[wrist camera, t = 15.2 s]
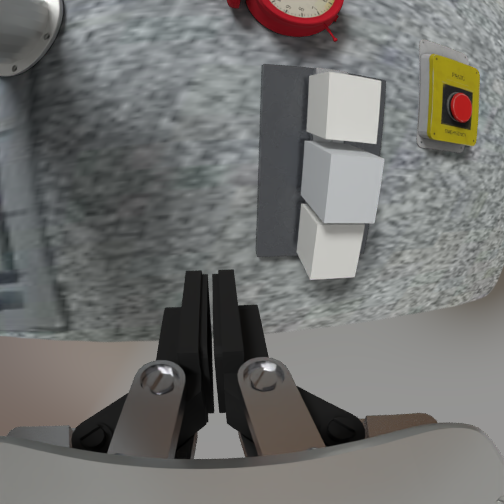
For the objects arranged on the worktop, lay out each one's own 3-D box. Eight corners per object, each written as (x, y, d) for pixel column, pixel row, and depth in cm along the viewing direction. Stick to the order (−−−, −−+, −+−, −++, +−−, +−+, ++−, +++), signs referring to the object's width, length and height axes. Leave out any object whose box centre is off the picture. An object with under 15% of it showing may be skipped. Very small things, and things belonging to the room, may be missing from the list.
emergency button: (433, 153, 31) (436, 34, 24) (413, 146, 35) (416, 37, 28) (480, 160, 32) (486, 55, 25) (461, 152, 36) (465, 55, 29)
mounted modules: (309, 75, 27) (329, 71, 22) (354, 81, 28) (381, 80, 23) (296, 252, 37) (310, 279, 31) (336, 251, 37) (354, 277, 32)
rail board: (261, 65, 29) (265, 63, 26) (379, 80, 30) (390, 80, 28) (255, 251, 39) (258, 260, 37) (359, 248, 40) (366, 257, 38)
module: (304, 140, 31) (331, 154, 24) (349, 143, 31) (385, 159, 24) (300, 194, 33) (323, 223, 26) (344, 195, 34) (375, 223, 27)
